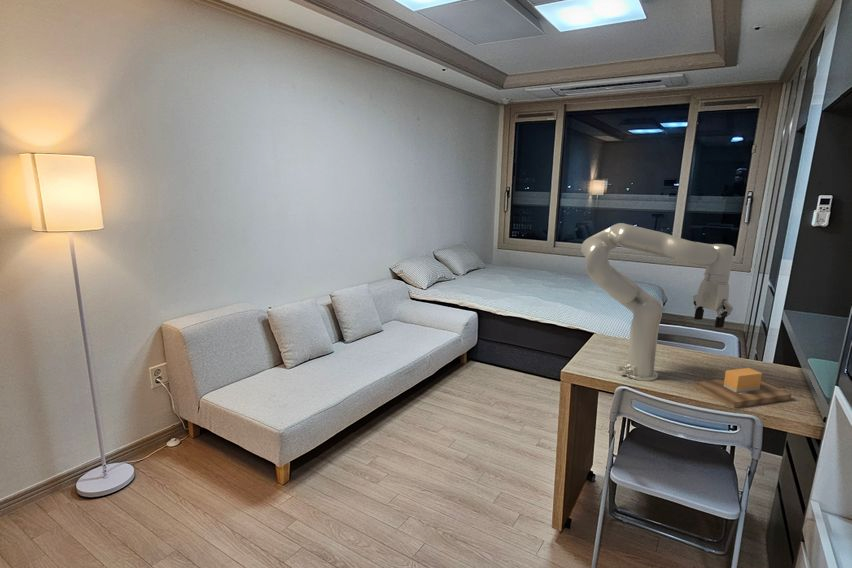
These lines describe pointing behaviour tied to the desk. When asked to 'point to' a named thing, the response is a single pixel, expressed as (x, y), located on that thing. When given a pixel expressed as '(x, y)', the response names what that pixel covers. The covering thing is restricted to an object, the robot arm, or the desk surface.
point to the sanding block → (742, 380)
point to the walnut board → (742, 394)
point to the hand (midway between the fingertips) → (708, 323)
